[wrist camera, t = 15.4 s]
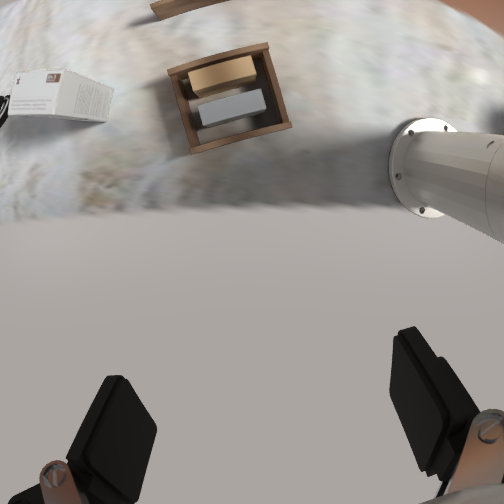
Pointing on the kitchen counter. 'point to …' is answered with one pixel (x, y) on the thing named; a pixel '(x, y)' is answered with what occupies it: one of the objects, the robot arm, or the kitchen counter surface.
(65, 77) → the skincare box
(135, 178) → the kitchen counter surface
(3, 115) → the nameplate
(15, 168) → the kitchen counter surface
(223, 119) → the slate offcut
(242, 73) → the oak offcut
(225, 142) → the walnut rack
